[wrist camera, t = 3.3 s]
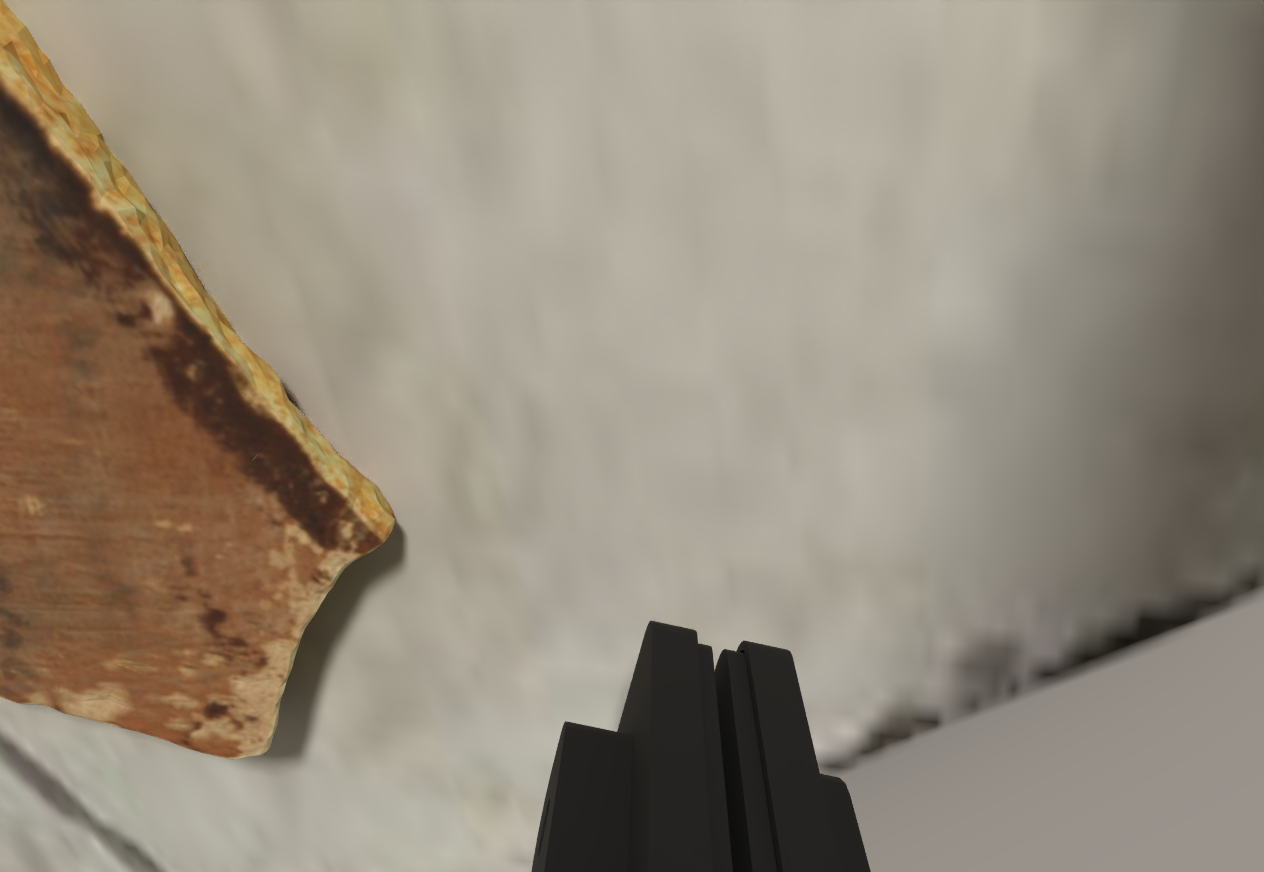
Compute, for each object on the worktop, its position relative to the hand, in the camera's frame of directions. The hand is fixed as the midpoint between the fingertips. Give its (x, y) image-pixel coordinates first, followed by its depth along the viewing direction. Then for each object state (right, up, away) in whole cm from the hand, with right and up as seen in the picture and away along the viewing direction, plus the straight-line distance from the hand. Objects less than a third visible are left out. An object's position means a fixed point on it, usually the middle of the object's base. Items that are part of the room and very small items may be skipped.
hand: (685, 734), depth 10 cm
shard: (-9, +4, +2) cm, 10 cm away
